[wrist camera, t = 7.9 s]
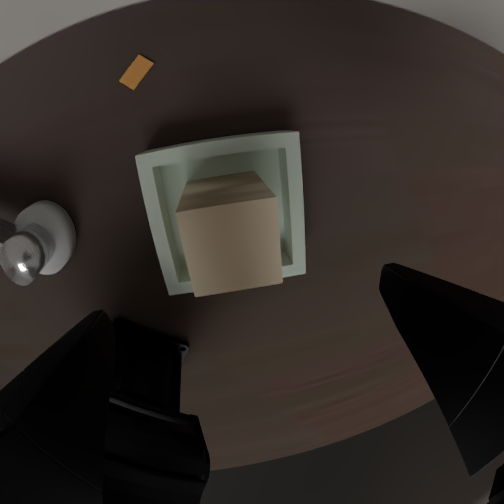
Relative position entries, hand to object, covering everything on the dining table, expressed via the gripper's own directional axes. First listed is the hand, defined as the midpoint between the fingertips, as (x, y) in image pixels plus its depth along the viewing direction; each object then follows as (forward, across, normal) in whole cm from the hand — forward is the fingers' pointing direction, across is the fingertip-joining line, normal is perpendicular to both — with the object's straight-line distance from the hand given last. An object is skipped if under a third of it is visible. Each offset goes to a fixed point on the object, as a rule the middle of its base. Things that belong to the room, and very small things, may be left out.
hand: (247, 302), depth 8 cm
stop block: (+10, 0, 0) cm, 10 cm away
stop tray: (+10, 0, 0) cm, 10 cm away
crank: (+9, +17, -3) cm, 20 cm away
